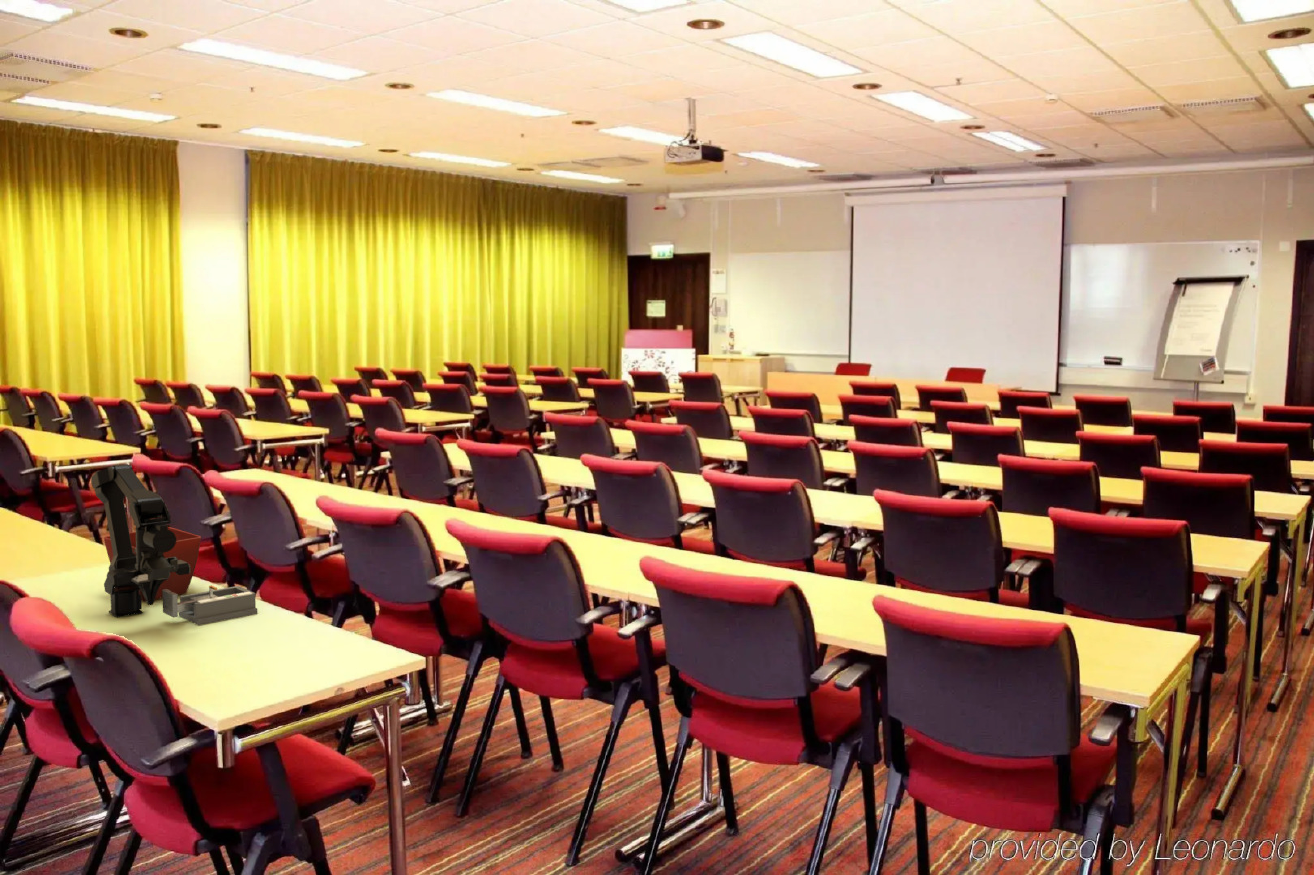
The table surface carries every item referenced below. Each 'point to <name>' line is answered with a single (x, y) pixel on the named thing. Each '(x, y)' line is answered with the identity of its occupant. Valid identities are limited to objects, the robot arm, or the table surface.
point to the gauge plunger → (173, 607)
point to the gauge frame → (220, 605)
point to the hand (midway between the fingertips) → (150, 604)
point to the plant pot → (182, 550)
